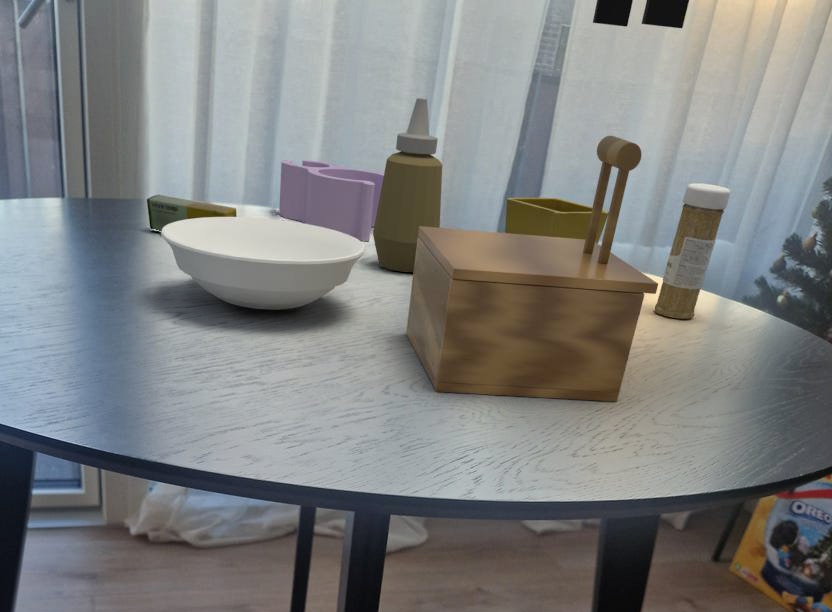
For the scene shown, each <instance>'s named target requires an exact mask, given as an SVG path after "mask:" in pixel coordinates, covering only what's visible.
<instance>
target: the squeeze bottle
mask: <svg viewBox="0 0 832 612" xmlns="http://www.w3.org/2000/svg"><path fill="white" fill-rule="evenodd" d="M395 144H396V145H395V150H397V151H398V152H395V153H392V154H391V155H390V156H388V157H387V158H386V161H385V162H386V163H385V167H384V173H383V174H384V177H383V183H382V188H381V193H380V198H379V204H378V209H377V214H376V220H375V225H374V227H373V230H372V235H373V241H374V247H375V251H376V257H377V262H378V265H379V266H381V267H383V268H385V269H388V270H391V271H394V272H399V273H414V264H415V256H416V248H417V240H418V231H419V226H424V227H437V228H441V207H442V206H441V204H442V184H443V183H442V181H443V163H442V162H441V161H440V159H438V158H437V157H435V156H434V155H435V154H437V147H438V137H436V136H433V135H430V123H429V109H428V99H427V98H418V97H417V98H416V100H415V103H414V106H413V110H412V113H411V117H410V120H409V123H408V127H407V130H406V131H405V132H399V133H397V136H396V143H395Z"/></svg>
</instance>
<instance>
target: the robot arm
mask: <svg viewBox="0 0 832 612" xmlns="http://www.w3.org/2000/svg"><path fill="white" fill-rule="evenodd" d="M633 2H634V0H596V4H595V9H594V13H593V18H592V24H601V25H609V26H616V27H617V26H618V27H628V25H629V20H630V16H631V12H632V8H633V7H632V6H633ZM689 3H690V0H646V1H645V6H644V11H643V15H642V20H641V25H647V26H656V27H665V28H673V29H674V28H675V29H683V28H684V24H685V19H686V16H687V11H688V7H689Z"/></svg>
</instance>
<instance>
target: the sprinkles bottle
mask: <svg viewBox="0 0 832 612" xmlns="http://www.w3.org/2000/svg"><path fill="white" fill-rule="evenodd" d="M730 196H731V190H730V189H729V188H727V187H724V186H720V185H715V184H709V183H699V182H696V183H695V182H694V183H693V182H692V183H689V184H687V185H686V189H685V192H684V194H683V199H682V203H683V205H682V210H681V212H680V213H681V214H680V217H679V221H678V224H677V228H676V231H675V236H674V238H673V242H672V245H671V249H670V252H669V256H668V259H667V263H666V266H665V270H664V274H663V276H662V277H663V278H662V282H661V287H660V290H659V295H658V298H657V301H656V304H655V305H654V312H655V313H657V314H658V315H661V316H663V317H668V318H672V319H673V318H674V319H680V320H687V319H692V318H694V316H695V314H696V313H695V309H696V305H697V302H698V299H699V295H700V292H701V289H702V287H703V285H704V280H705V277H706V274H707V270H708V268H709V264H710V260H711V257H712V254H713V251H714V247H715V244H716V239H717V235H718V231H719V227H720V224H721V221H722V218H723V214H724V213H725V209H727V207H728V204H729V200H730Z"/></svg>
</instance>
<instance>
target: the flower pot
mask: <svg viewBox="0 0 832 612" xmlns="http://www.w3.org/2000/svg"><path fill="white" fill-rule="evenodd" d="M592 208H593V206H588V205H584V204H581V203H578V202H573V201H570V200H565V199H562V198H558V197H507V198H506V208H505V227H504V230H505V231H504V233H511V234H523V235H535V236H547V237H560V238H572V239H584V240H586V235H587V231H588V226H589V222H590V217H591V212H592ZM608 214H609V210H604V209H602V213H601V218H600V222H599V227H598V231H597V236H596V240H595V242H596V243H597V244H599V242H600V239H601V236H602V234H603V232H604V229H605V226H606V223H607V218H608Z"/></svg>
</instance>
